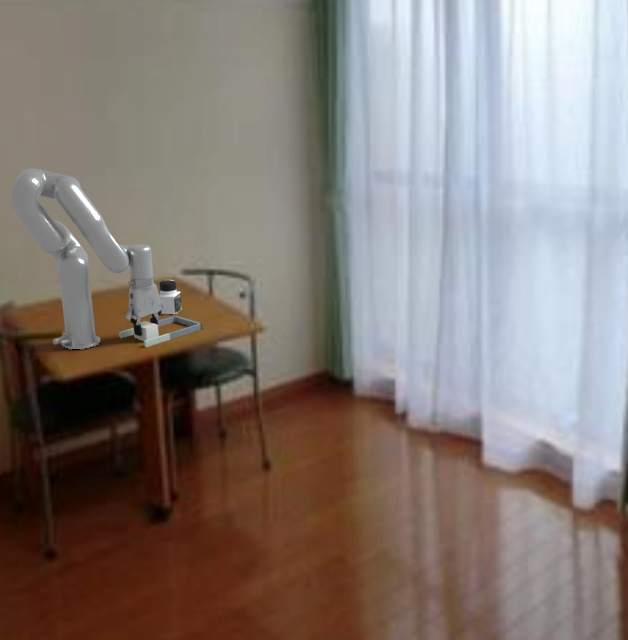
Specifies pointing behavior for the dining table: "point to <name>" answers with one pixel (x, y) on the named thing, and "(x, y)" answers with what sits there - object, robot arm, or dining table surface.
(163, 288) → the medicine bottle
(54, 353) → the dining table surface
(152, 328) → the white block
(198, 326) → the bay
